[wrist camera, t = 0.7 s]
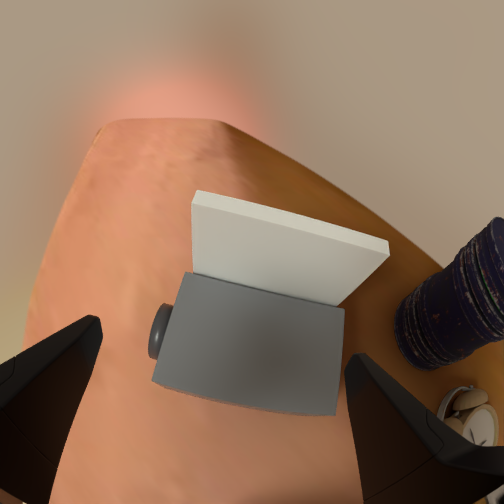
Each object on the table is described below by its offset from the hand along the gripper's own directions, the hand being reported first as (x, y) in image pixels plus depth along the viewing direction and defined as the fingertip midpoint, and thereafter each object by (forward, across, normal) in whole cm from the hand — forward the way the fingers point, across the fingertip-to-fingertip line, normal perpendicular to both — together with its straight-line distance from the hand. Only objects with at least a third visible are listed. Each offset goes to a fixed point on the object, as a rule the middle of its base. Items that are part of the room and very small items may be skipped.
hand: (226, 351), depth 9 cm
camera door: (+14, -3, +7) cm, 16 cm away
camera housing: (+10, -2, +11) cm, 15 cm away
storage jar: (+13, -23, +9) cm, 28 cm away
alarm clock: (+1, -28, +17) cm, 32 cm away
